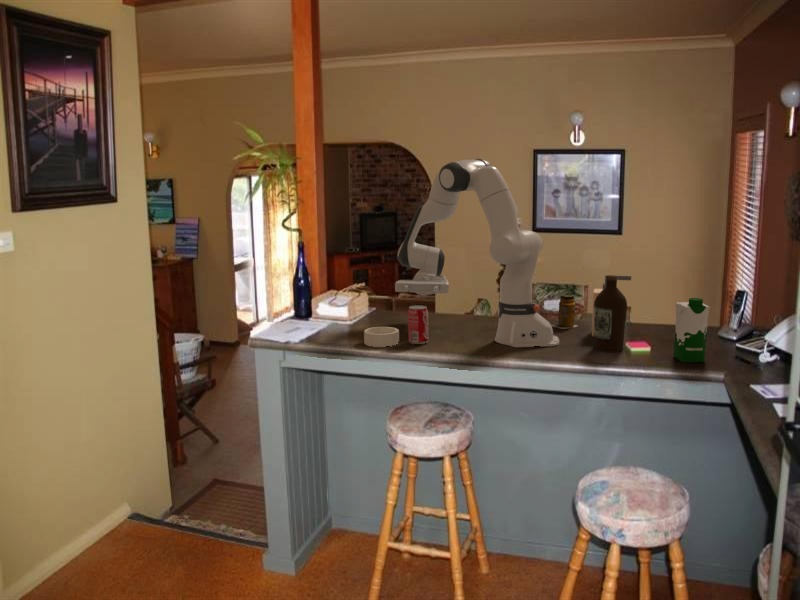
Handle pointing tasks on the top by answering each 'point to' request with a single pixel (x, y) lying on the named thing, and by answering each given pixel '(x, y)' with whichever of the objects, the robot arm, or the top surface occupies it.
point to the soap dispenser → (597, 291)
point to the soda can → (418, 324)
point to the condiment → (566, 312)
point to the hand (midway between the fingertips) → (420, 290)
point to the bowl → (381, 336)
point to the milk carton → (691, 330)
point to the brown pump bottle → (609, 317)
